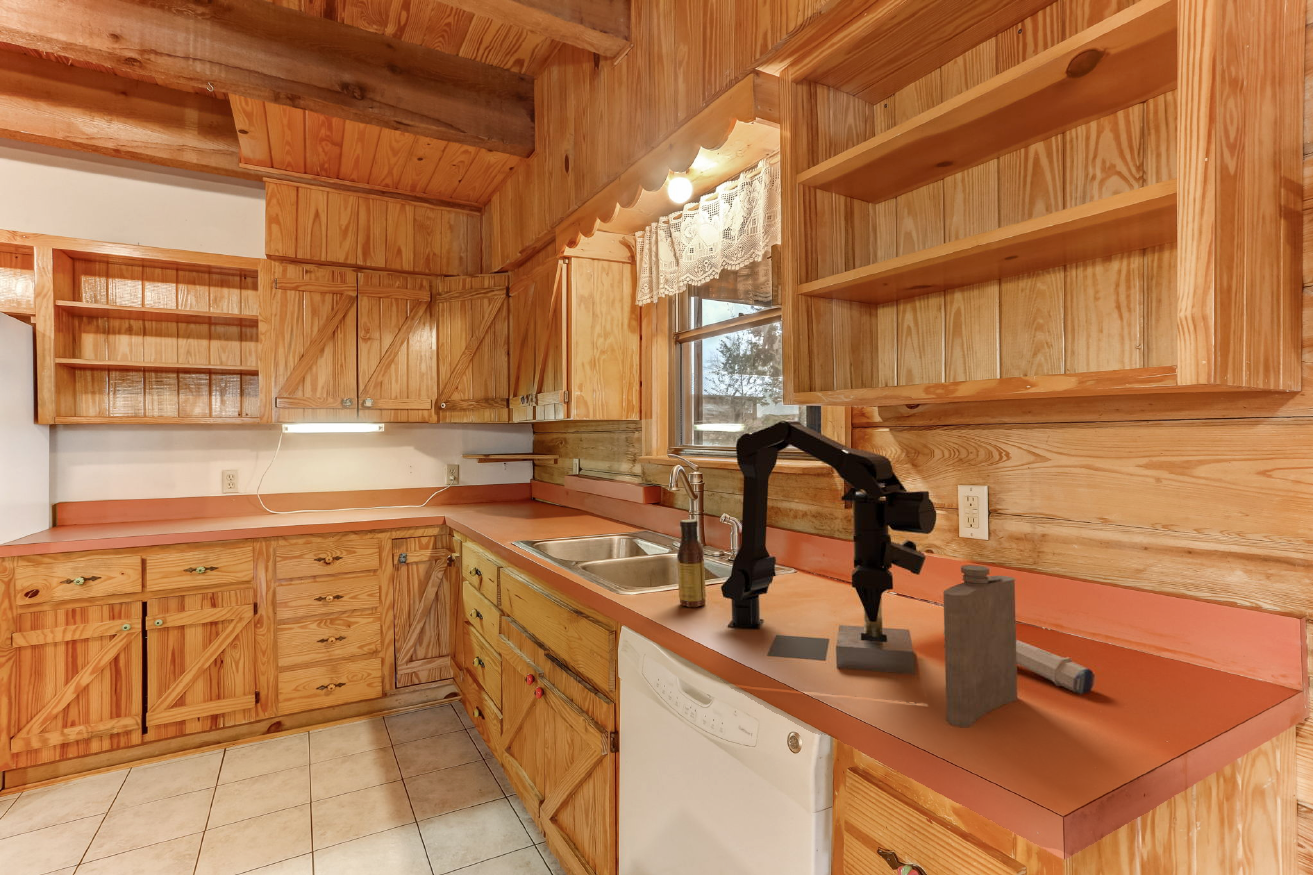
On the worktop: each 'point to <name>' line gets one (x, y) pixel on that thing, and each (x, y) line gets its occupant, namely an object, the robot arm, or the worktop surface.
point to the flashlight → (1055, 668)
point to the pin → (874, 624)
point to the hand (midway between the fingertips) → (872, 618)
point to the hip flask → (979, 645)
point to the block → (875, 650)
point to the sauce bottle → (691, 566)
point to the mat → (799, 647)
